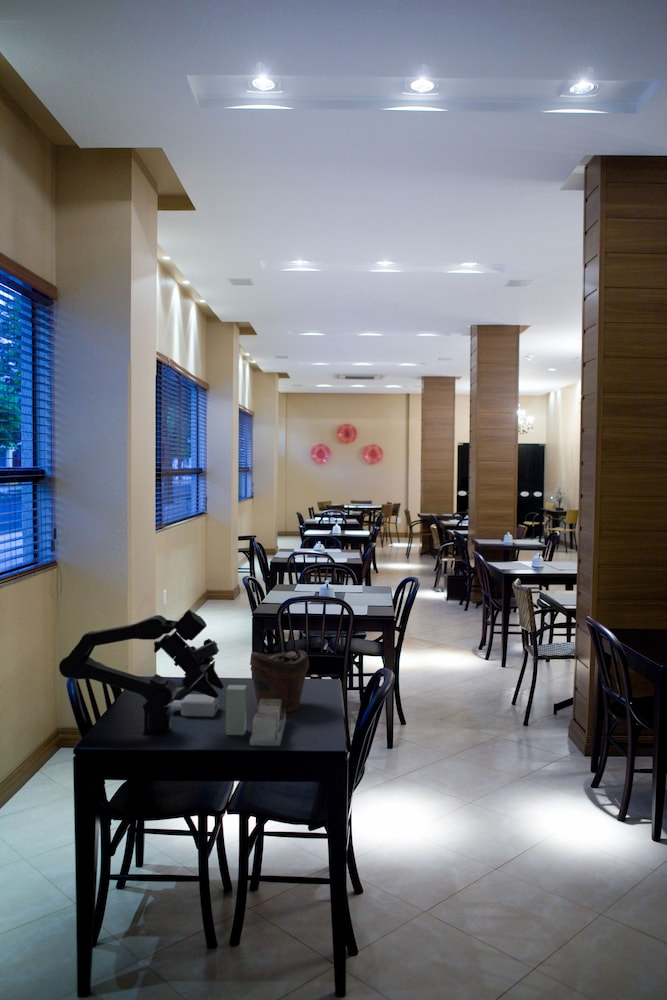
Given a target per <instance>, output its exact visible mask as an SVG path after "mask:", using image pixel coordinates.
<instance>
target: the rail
mask: <svg viewBox="0 0 667 1000" xmlns="http://www.w3.org/2000/svg"><path fill="white" fill-rule="evenodd" d="M281 703H282V699H261V700H260V702H259V705H257V709H258V710H257V712H255V714H254V716H253V719H252V732H251V736H250V738H249V746H261V747H264V746H265V747H267V746H268V747H269V746H270V747H276V746H277V747H279V746H281V743H282V740H283V736H284V735H283V734H284V731H285V728H286V727H285V726H286V722H287V721H286V720H287V712H286V709H283V712H281Z"/></svg>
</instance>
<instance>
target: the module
mask: <svg viewBox="0 0 667 1000" xmlns="http://www.w3.org/2000/svg"><path fill="white" fill-rule="evenodd" d="M247 689H248V688H247V685H245V684H244V685H243V684H228V685H227V688H226V691H225V692H226V693H225V694H226V695H225V697H226V699H225V735H226V736H245V734H246V731H247V697H248V696H247V692H248V690H247Z"/></svg>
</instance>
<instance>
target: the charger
mask: <svg viewBox="0 0 667 1000" xmlns="http://www.w3.org/2000/svg"><path fill="white" fill-rule="evenodd" d="M166 707H170V709H171V710H172V711H180V715H181V716H183V717H198V718H201V717H202V718H213V717H214V716H215V715H216V713H217V711H218V710H219V696H218V697H217V698H213V697H211V696H208V695H205V694H197V693H195V694H191V693H190V694H187V695H185V696H184V698H183V699H181V700H179V699H176V700H174V701H171V702H170V703H169V704H168V705H167V706H166Z"/></svg>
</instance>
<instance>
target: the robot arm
mask: <svg viewBox="0 0 667 1000" xmlns="http://www.w3.org/2000/svg"><path fill="white" fill-rule="evenodd" d="M205 628H207V623H206V622H205V620H204V619H203V617H202V616H201V615H198V614H197V613H195V612H193V611H192V610H191V609H188V610H186V612H184V614H183V615H182V616H181V618H179V619H178V620H173V619H172V620H171V619H167V618H165V616H163V615H161V614H160V615H159V614H157V615H153V616H150V617H148V618H145V619H143V620H141V621H138V622H136V623H133V624H128V625H122V626H117V627H111V628H107V629H100V630H95V631H94V630H91V631H88V632H86V633H84V634H83V635H82V637H81V639H80V640H79V641H78V643H77V645H75V646H74V648H73V649H72V651H71V652H70V653H69V654H68V655H66V657H64V658H62V659H61V661H60V662H59V665H58V669H59V672H60V674H61V676H62V677H64V678H67V679H74V680H93V681H96V682H99V683H102V684H105V685H109V686H113V687H115V688H118V689H122V690H125V691H128V692H131V693H133V694H136V695H137V694H138V695H140V696H141V697H142V699H143V698H144V699H145V700H146V702H145V703H143V705H142V708H143V712H144V714H143V716H144V717H143V718H144V720H143V731H142V734H143V735H167V734H168V732H169V731H170V730H171V728H172V713H171V712H170V706H167V705H170V704H169V703H172V702H173V701H172V699H173V698H174V697H175V695H176V693H177V688H176V686H175V683H174V682H175V681H172V680H170V679H171V677H164V676H162V675H160V674H157V673H156V674H155V675H153V676H152V677H151V678H145V677H142V676H138V675H135V674H132V673H129V672H125V671H122V670H118V669H116V668H112V667H109V666H107V665H103V664H101V663H100V664H99V663H98V662H97V661H95V660H94V659H93V658H92V657H91V656H92V655H91V654H92V653H93V651H94V650H95V647H98V646H103V645H108V644H111V643H112V644H113V643H114V644H115V643H117V642H123V641H128V640H142V641H143V640H144V641H147V640H150V641H152V640H153V641H154V640H156V641H155V642H154V643H153V645H154V647H153V652H154V653H157V652H158V651H159V650H161V649H162V650H163V651H164V652H165V653H166V655H168V657H170V658H171V659H172V660H173V662H174V663H173V665H174V666H175V667H179V668H180V669H181V670H182V671H183V672H184V674H183V676H184V677H183V679H182V680H181V682H182V685H183V686H184V687H185V688H186V689H188V688H189V687H190V686H191V685H192V686H191V688H190V690H191V691H194V692H198V693H200V694H201V695H208V696H211V697H213V698H217V697H218V698H219V694H218V693H217V691H216V689H215V688H218V689H220V690H222V689H223V688H224V684H223V683H222V680H221V679H220V678H219V677H220V676H219V675H218V673H217V672H216V669H215V667H216V666H215V664H216V660H215V658H214V656H216V655H217V654H218V653H219V652H220V650H219V648H218V643H217V642H216V641H215V640H211V639H210V638H207V639H206V640H204V641H203V645H201V646H200V647H198V648H197V647H195V646H193V645H192V646H190V645H189V644H188V643H187V642H186V641H188V640H189V641H191V642H193V640H194V639H196V637H198V635H199V634H200V633H202V631H204V629H205ZM174 629H175V631H174ZM172 631H174V632H173V633H172V634H170V633H171V632H172ZM163 635H164V636H163ZM162 636H163V637H162ZM161 637H162V638H161ZM160 638H161V639H160ZM158 639H160V640H158ZM214 687H215V688H214Z"/></svg>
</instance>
